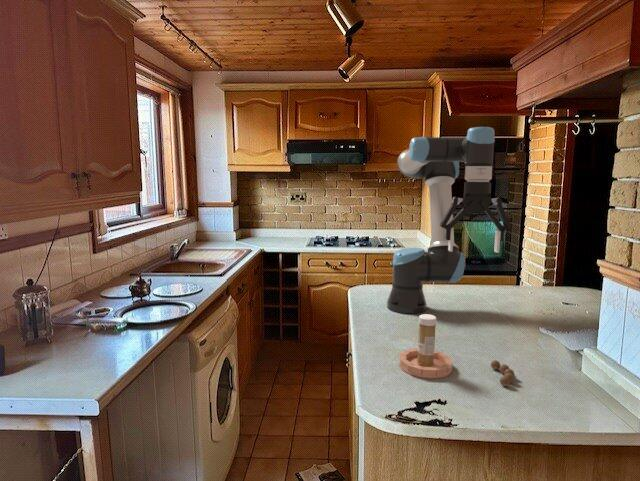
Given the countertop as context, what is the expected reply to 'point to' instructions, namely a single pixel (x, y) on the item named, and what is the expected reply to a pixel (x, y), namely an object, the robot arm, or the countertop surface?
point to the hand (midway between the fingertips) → (473, 251)
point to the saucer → (438, 370)
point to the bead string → (506, 371)
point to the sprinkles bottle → (426, 340)
